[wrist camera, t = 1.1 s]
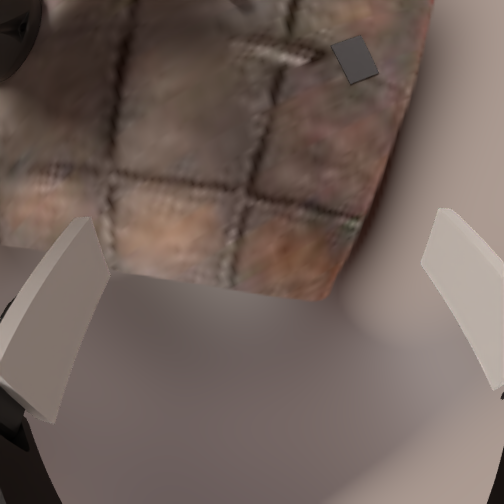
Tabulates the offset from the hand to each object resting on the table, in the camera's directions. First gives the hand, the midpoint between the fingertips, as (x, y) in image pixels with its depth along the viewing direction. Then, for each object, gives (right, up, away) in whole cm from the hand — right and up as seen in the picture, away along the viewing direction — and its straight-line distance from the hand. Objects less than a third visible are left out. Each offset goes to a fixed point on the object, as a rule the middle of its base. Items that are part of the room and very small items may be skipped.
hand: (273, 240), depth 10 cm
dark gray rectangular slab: (+11, +21, +15) cm, 28 cm away
